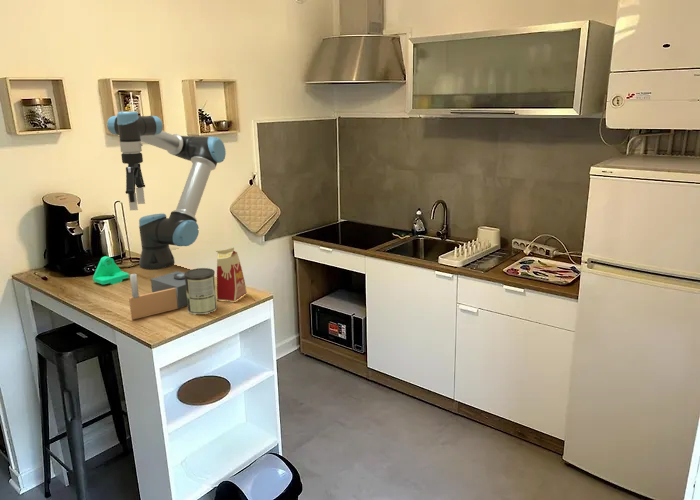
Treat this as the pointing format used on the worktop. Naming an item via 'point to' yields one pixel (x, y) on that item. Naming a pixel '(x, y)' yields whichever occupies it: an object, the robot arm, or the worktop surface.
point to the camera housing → (171, 285)
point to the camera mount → (108, 272)
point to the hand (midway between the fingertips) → (137, 206)
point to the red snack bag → (229, 276)
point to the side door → (151, 301)
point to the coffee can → (200, 290)
